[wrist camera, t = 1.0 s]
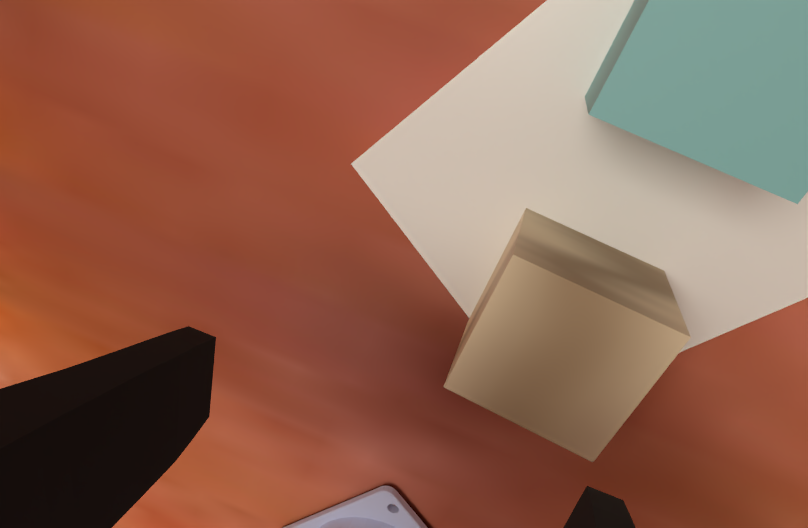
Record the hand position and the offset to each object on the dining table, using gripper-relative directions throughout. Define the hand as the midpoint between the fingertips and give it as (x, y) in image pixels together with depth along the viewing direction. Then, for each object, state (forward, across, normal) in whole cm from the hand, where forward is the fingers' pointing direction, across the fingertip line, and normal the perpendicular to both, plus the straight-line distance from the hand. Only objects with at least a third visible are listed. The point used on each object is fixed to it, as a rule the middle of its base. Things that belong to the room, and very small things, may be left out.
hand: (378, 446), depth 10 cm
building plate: (+10, -4, -4) cm, 11 cm away
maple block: (+9, -3, 0) cm, 9 cm away
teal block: (+9, -4, -8) cm, 13 cm away
